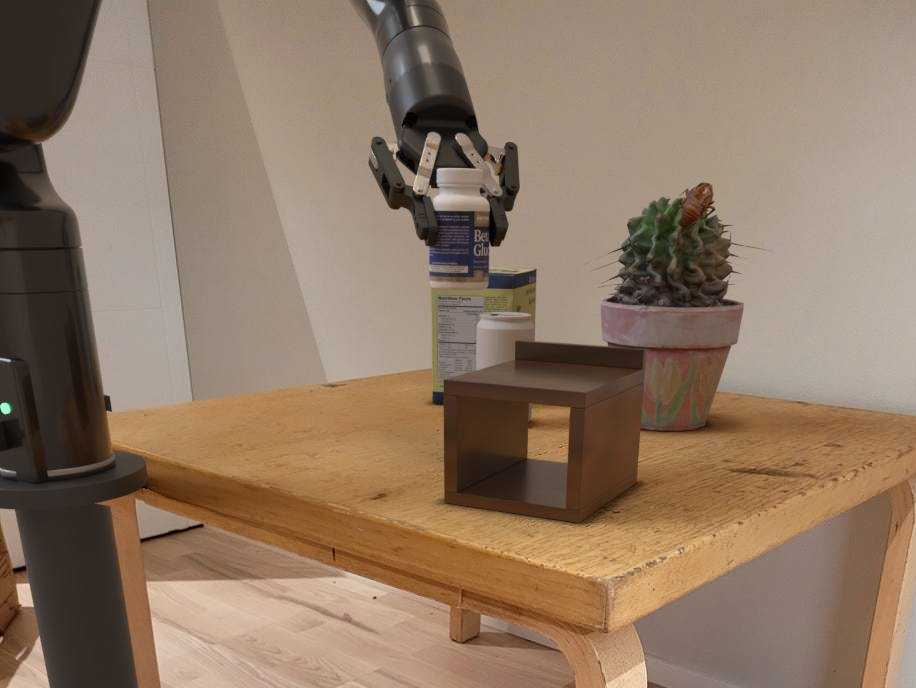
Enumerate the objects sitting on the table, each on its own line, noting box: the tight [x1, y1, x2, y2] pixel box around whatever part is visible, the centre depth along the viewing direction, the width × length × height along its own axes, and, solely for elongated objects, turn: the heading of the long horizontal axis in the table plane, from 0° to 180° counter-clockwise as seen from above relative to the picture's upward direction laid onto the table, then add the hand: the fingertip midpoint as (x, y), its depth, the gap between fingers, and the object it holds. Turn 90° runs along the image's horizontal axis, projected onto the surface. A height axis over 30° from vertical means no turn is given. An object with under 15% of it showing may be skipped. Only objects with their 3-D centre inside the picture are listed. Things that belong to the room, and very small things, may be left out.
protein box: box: [430, 266, 538, 405], centre depth 123 cm, size 10×16×16 cm
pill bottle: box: [428, 168, 490, 290], centre depth 85 cm, size 5×5×10 cm
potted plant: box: [583, 181, 774, 432], centre depth 106 cm, size 18×20×25 cm
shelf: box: [443, 340, 647, 524], centre depth 80 cm, size 14×12×12 cm
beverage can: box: [476, 312, 536, 421], centre depth 107 cm, size 6×6×12 cm
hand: (465, 239), depth 83 cm, fingers closed on pill bottle, 5 cm apart
